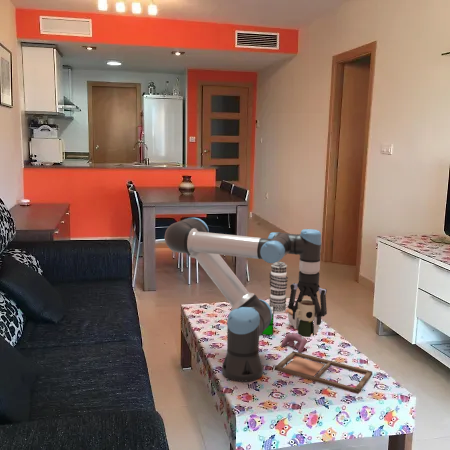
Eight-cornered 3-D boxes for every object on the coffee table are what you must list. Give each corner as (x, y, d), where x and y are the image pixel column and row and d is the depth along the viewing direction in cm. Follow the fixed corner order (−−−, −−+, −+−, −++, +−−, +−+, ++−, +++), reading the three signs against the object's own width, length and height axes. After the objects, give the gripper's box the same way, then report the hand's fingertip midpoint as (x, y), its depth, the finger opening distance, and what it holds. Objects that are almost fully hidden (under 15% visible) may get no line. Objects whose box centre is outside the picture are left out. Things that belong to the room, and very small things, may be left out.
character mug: (301, 341, 180) (303, 307, 178) (288, 335, 186) (290, 302, 183) (323, 335, 186) (324, 302, 184) (309, 329, 192) (311, 297, 189)
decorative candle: (266, 307, 254) (268, 260, 249) (284, 307, 255) (285, 260, 250) (270, 313, 245) (271, 265, 240) (288, 313, 246) (290, 264, 241)
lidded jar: (308, 322, 234) (309, 303, 232) (312, 330, 224) (313, 311, 222) (285, 322, 234) (286, 303, 232) (289, 330, 223) (290, 311, 222)
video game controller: (304, 354, 203) (309, 337, 204) (299, 352, 199) (304, 336, 201) (284, 347, 209) (289, 331, 210) (279, 346, 206) (284, 329, 207)
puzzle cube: (273, 327, 228) (273, 306, 226) (273, 335, 218) (273, 314, 216) (251, 326, 229) (251, 305, 227) (250, 334, 219) (250, 313, 217)
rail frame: (358, 393, 169) (358, 390, 169) (274, 369, 185) (274, 367, 185) (372, 374, 183) (372, 371, 183) (293, 353, 200) (293, 351, 199)
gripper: (338, 273, 179) (335, 332, 183) (288, 265, 190) (286, 321, 194) (331, 278, 173) (327, 339, 177) (280, 269, 183) (277, 327, 188)
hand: (306, 330), depth 185 cm, fingers closed on character mug, 7 cm apart
